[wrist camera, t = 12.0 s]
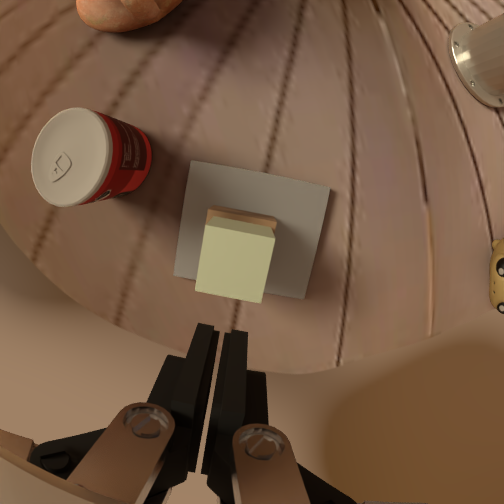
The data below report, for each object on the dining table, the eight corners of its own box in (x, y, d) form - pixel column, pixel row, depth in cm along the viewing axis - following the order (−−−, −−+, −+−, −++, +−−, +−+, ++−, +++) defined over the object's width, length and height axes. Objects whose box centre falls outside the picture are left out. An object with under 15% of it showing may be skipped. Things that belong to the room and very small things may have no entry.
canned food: (79, 177, 30) (18, 181, 20) (112, 113, 29) (58, 92, 18) (131, 210, 31) (80, 227, 21) (167, 144, 30) (127, 129, 19)
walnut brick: (273, 216, 31) (276, 222, 27) (261, 273, 32) (262, 287, 28) (213, 204, 30) (208, 209, 26) (203, 262, 32) (197, 274, 28)
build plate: (328, 187, 31) (330, 187, 30) (302, 296, 34) (303, 299, 33) (192, 160, 30) (191, 160, 29) (175, 272, 33) (173, 275, 32)
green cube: (270, 227, 27) (275, 238, 22) (259, 281, 28) (260, 303, 23) (213, 216, 27) (205, 224, 22) (204, 270, 28) (194, 290, 23)
